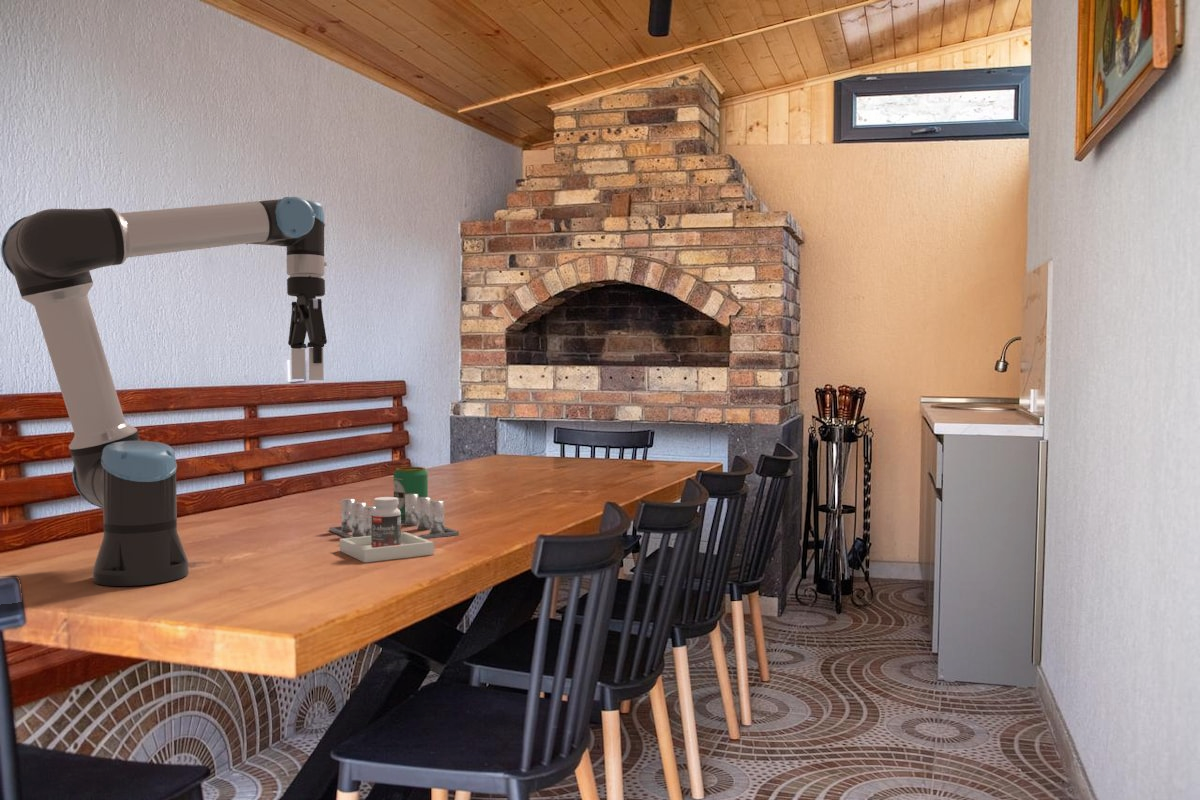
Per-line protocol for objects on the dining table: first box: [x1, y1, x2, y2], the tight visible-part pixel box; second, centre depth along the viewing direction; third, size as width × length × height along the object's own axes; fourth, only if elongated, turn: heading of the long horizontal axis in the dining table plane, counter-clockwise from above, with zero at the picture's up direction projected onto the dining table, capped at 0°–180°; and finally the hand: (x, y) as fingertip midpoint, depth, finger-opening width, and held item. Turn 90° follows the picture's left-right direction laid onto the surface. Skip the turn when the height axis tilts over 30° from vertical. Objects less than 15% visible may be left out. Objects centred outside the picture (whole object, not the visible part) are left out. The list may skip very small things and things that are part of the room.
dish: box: [339, 531, 435, 563], centre depth 198 cm, size 14×14×2 cm
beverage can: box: [393, 466, 429, 521], centre depth 242 cm, size 8×8×12 cm
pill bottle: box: [371, 496, 402, 548], centre depth 198 cm, size 6×6×10 cm
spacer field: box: [329, 494, 460, 539], centre depth 222 cm, size 22×22×7 cm
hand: (307, 379), depth 210 cm, fingers open, 13 cm apart
